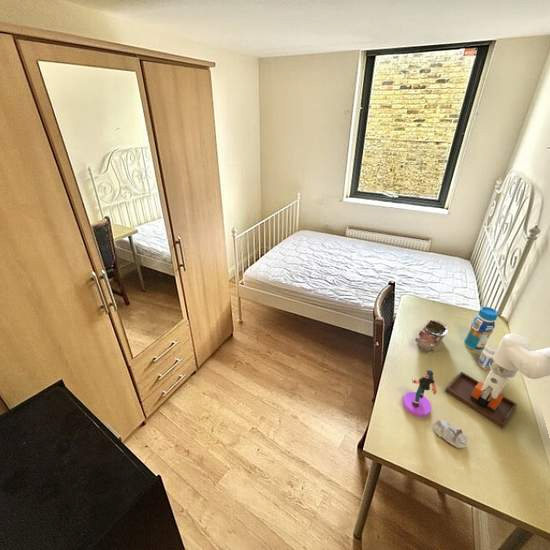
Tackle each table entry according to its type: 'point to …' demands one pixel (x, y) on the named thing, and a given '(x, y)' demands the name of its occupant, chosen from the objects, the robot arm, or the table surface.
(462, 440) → the stone
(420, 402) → the figurine
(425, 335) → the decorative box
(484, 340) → the blue lidded jar
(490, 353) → the pill bottle
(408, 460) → the table surface
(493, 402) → the orange rectangular block
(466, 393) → the tray
